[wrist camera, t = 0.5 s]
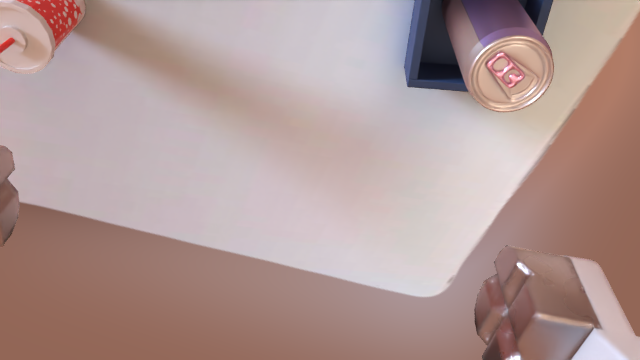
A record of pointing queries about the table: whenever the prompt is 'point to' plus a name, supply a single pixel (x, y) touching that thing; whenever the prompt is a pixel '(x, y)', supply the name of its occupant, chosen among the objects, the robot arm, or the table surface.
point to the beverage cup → (35, 31)
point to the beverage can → (499, 52)
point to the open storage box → (446, 45)
